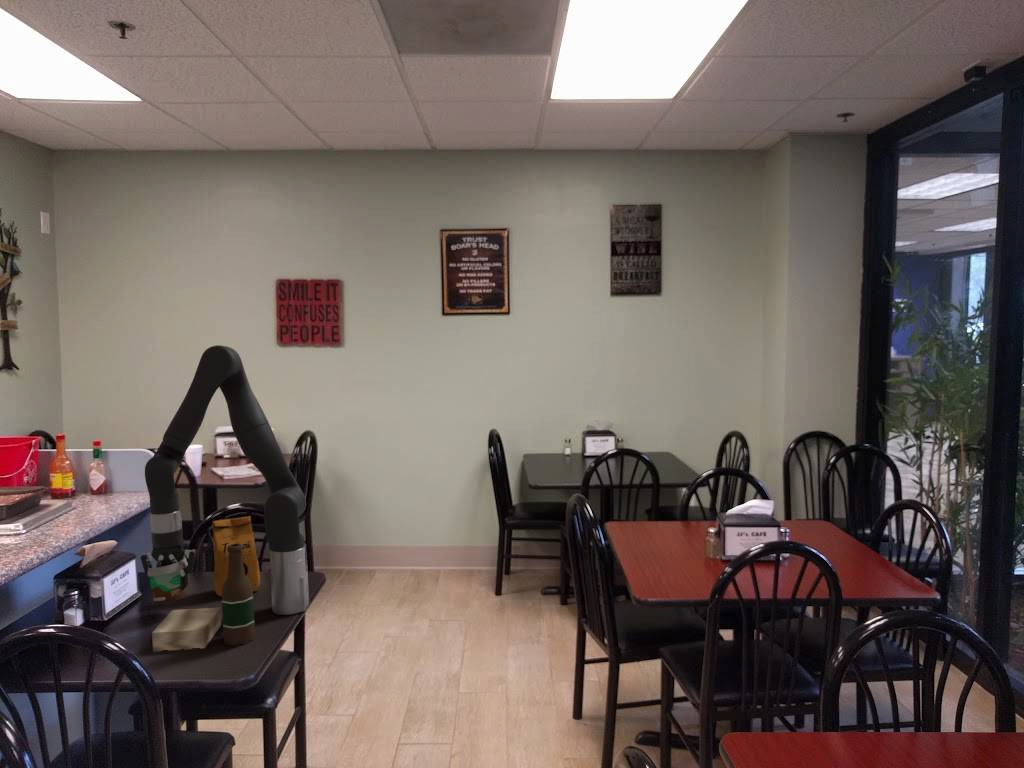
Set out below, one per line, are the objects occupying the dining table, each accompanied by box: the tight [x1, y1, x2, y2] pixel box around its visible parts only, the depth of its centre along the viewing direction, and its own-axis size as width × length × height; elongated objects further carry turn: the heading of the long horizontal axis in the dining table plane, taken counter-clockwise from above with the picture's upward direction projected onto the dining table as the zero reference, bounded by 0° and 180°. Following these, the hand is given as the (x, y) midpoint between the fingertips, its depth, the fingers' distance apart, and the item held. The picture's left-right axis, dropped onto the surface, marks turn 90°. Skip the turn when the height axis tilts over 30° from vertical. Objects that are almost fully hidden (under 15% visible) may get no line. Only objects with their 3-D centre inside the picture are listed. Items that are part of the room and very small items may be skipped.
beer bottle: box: [221, 543, 256, 647], centre depth 183 cm, size 8×8×24 cm
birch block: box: [151, 606, 222, 652], centre depth 185 cm, size 12×14×5 cm
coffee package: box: [211, 515, 261, 597], centre depth 216 cm, size 10×12×22 cm
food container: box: [146, 555, 188, 605], centre depth 198 cm, size 12×6×10 cm, turn 169°
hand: (171, 589), depth 199 cm, fingers closed on food container, 5 cm apart
